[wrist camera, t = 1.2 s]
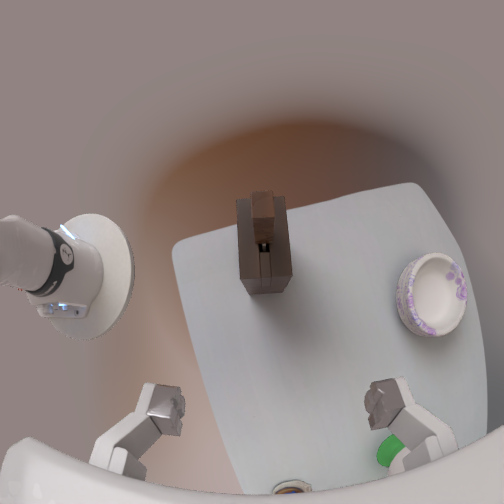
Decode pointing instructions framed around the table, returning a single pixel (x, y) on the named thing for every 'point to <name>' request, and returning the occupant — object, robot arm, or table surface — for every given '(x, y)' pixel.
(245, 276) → the knife block
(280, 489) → the dessert
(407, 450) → the cup
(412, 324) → the paper bowls
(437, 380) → the table surface
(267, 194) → the knife
